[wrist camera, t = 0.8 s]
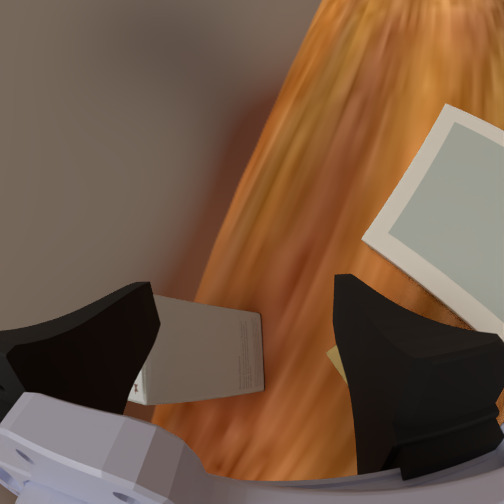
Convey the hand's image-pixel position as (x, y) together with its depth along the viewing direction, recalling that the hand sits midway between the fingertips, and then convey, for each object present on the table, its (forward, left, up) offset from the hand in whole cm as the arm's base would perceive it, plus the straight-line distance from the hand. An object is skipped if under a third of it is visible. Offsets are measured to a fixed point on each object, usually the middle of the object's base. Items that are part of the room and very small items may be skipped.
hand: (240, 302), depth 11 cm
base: (-2, -13, -14) cm, 19 cm away
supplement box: (+5, +11, -14) cm, 19 cm away
